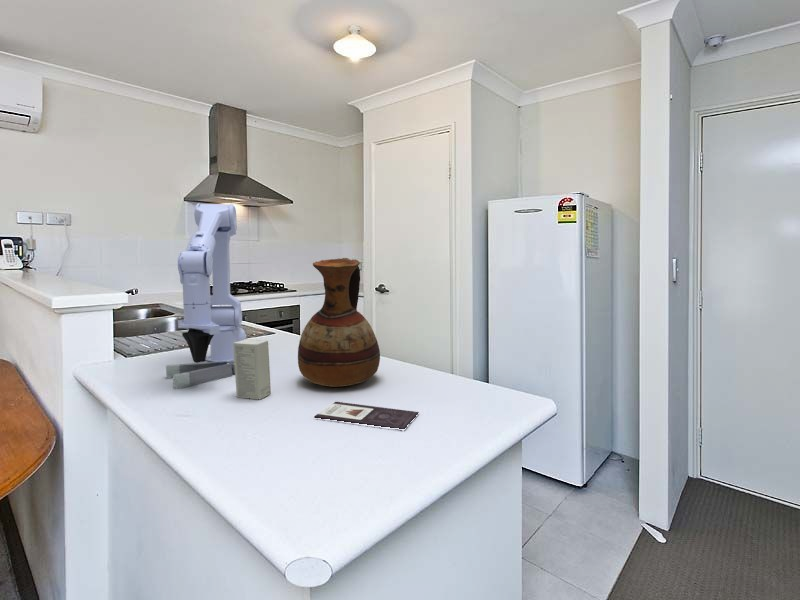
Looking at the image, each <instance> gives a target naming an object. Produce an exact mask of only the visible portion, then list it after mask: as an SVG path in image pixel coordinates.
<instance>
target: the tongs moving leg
mask: <svg viewBox="0 0 800 600" xmlns="http://www.w3.org/2000/svg"><path fill="white" fill-rule="evenodd" d="M229 377H233V375H232V364H229V363H228V362H227V364H224V365H219V366H214V367H209V368H204V369H200V370H195V371H190V372H185V373H180V374H175V375H173V378H172V380H173V388H174V389H175V390H179V389H183V388H186V387H190V386H195V385H200V384H204V383H207V382H212V381H216V380H220V379H221V380H222V379H224V378H229Z"/></svg>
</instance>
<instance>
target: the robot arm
mask: <svg viewBox="0 0 800 600" xmlns="http://www.w3.org/2000/svg"><path fill="white" fill-rule="evenodd" d="M193 211H194V214H193V215H194V221H195V224H196V225H197V228H198V229H197V231H195V232H193V233H192V234H191V236H190V237H189V238H190V239H189V241H188V244H187V245H186V249H185V250H184V251H182V253H181V252H180V253H179V254H178V257H177V269H178V274H179V281H180V284H181V285H182V300H183V306H182V307H183V319H177V328H178V329H186V330H187V331H186V332H182V333H181V334H182V337H183V338H184V340H185V341H186V344H187V345H188V349H189V352H190V354H191V358H192V360H193V363H204V362H218V361H227V363H228V362H229V361H232V360H234V345H233V343H235V342H238V341H241V340H244V339H247V335H246V332H245V330H244V329H243V328H242V327H240V326H242V323H243V311H242V304H241V301H240V300H239V299H238V298H237V297H235V296H234V295H232V294H231V269H230V241H231V237H232V236H234V235H236V234H237V231H238V230H237V229H238V226H237V222H238V221H237V220H238V219H237V209H236V206H235V205H234V204H233V203H230V204H229V203H228V204H225V203H223V204H221V203H219V204H218V203H200V202H198V203H197V204H196V205H195V206H194V209H193ZM211 276H212V295H211V284H210V283H211V282H210V281H211V280H210V279H211V278H210V277H211ZM209 346H210V356H209V357H207V355H208V350H209Z"/></svg>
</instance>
